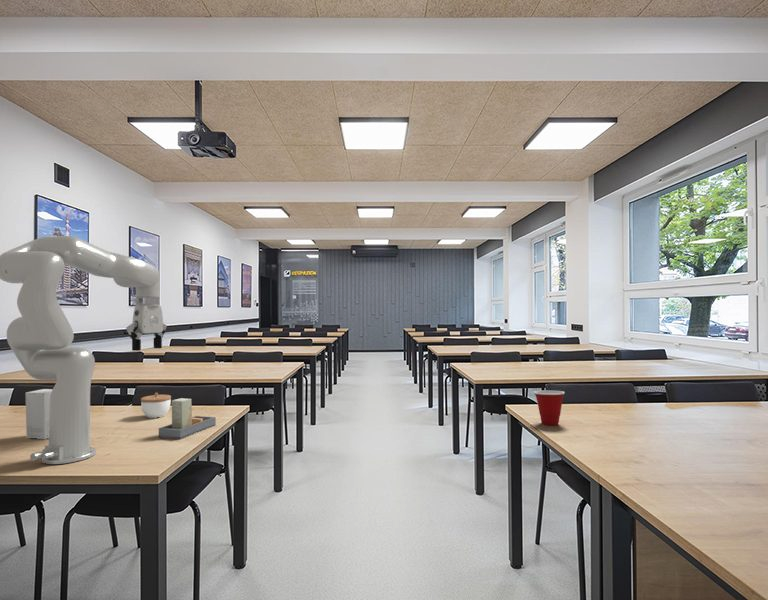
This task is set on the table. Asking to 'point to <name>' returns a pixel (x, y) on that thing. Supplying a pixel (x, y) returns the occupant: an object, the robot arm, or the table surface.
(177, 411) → the box
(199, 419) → the block
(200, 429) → the gray tray
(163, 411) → the lidded jar
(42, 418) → the skincare box
